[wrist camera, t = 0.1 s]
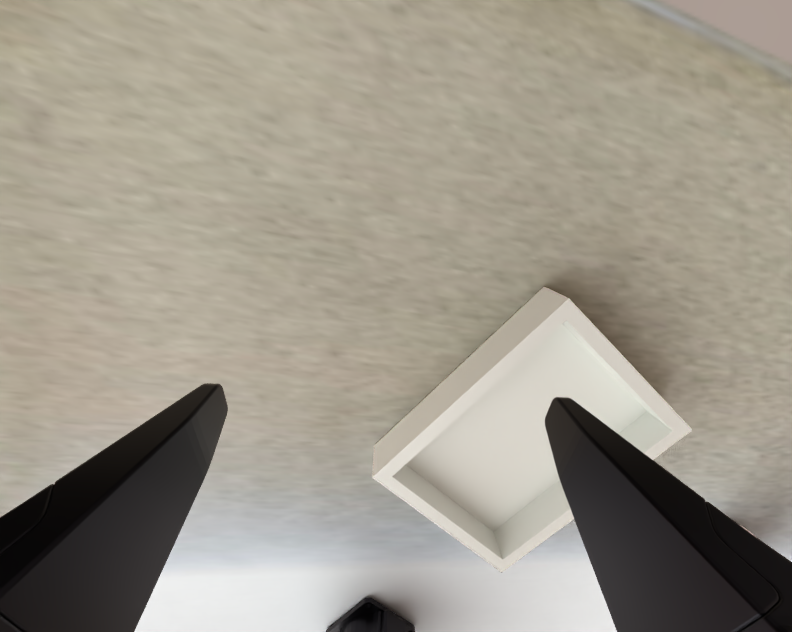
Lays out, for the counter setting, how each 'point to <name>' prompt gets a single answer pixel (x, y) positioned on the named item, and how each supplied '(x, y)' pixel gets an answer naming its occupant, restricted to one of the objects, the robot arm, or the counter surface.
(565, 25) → the counter surface
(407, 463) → the tray
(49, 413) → the counter surface
